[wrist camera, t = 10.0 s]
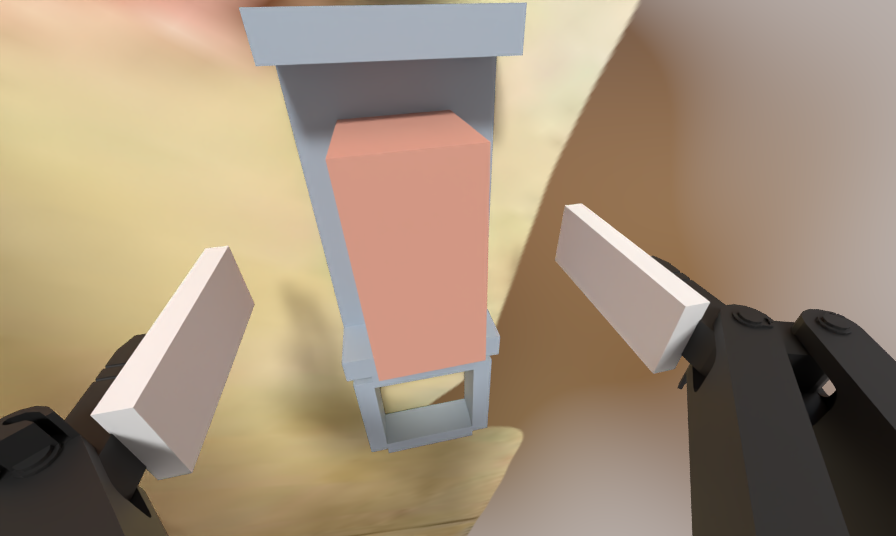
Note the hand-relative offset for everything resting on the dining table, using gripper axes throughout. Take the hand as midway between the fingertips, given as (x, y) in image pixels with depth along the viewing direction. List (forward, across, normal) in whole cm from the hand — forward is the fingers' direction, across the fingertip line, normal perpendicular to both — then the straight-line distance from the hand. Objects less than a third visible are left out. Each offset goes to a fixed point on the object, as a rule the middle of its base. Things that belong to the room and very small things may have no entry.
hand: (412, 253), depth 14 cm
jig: (+5, 0, -5) cm, 7 cm away
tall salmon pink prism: (+5, 0, -1) cm, 5 cm away
